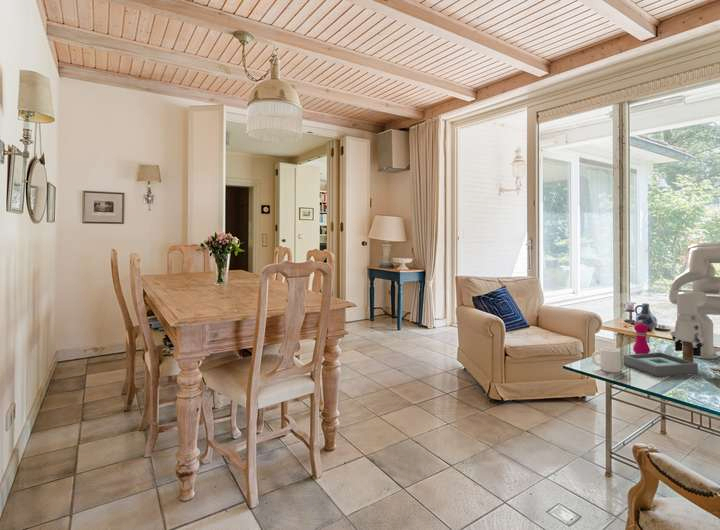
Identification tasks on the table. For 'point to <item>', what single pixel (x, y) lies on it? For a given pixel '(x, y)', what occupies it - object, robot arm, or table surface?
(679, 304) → the robot arm
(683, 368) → the tray
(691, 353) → the peg
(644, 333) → the pepper mill
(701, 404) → the table surface
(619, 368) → the mug
